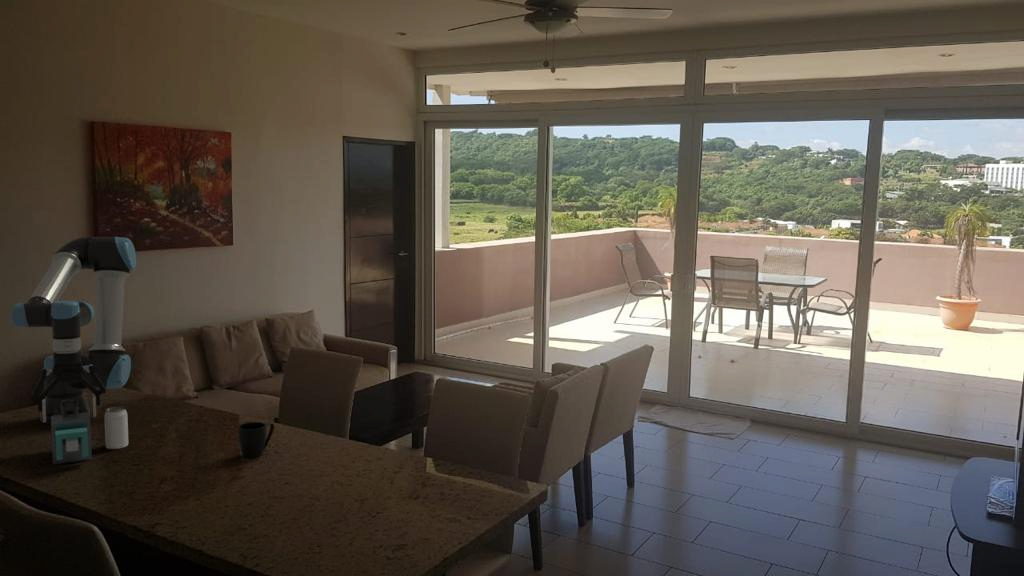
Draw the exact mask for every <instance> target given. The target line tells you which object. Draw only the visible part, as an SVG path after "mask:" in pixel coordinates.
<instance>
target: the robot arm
mask: <svg viewBox="0 0 1024 576" xmlns="http://www.w3.org/2000/svg"><path fill="white" fill-rule="evenodd" d="M50 264H51V265H50V266H49V268H48V269H47V271H46V273H44V275H43V277H42V278H41V280H40V282H39V283H38V285H37V287H36V288H35V289H34V291H33V293H32V294H31V296H30V297H29V299H28V300H27V302H21V303H16V304H14V305H13V306H12V309H11V311H10V312H11V313H10V318H11V322H12V324H13V325H14V326H15V327H17V328H18V327H19V328H51V330H52V351H53V353H52V354H51V355H48V356H46V357H45V359H44V361H43V368H42V369H41V370H42V371H41V376H40V377H39V379H38V380H37V381H38V382H37V383H36V385H35V387H34V389H33V391H32V392H31V395H30V399H31V400H32V401H36V402H37V411H38V412H40V414H39V418H40V422H41V423H42V424H46V425H51V416H55V415H62V410H61V401H62V400H65V399H77V401H78V413H84V412H89V416H90V417H91V410H90V407H89V405H88V403H87V401H86V400H87V399H86V396H85V395H84V390H89V391H90V392H91V393H93V394H92V414H93V418H97V407H98V406H100V405H101V395H103V394H106V392H107V390H112V389H121V388H123V387H124V386H125V385H126V384H127V382H128V379H129V377H130V374H131V370H132V369H131V368H132V363H131V362H132V359H131V357H130V355H128V354H127V353H126V351H127V350H126V349H125V348H124V347H123V345H122V338H123V337H122V335H123V319H124V316H123V315H124V299H125V282H126V281H125V280H126V279H127V278H129V277H130V274H131V271H133V270H135V269H136V265H137V255H136V249H135V245H134V243H133V242H132V240H131V239H130V238H127V237H122V236H121V237H119V236H81V237H78V238H74V239H72V240H70V241H69V242H67V243H65V244H64V245H62V246H61V247H59V249H57V251H55V253H54V254H53V256H52V257H51V259H50ZM81 270H93V275H94V276H95V277H96V278H97V288H96V289H97V290H96V291H97V292H96V305H95V307H96V308H95V309H94V306H92V304H90V303H88V302H86V301H77V300H73V299H72V300H71V299H70V300H66V299H65V300H60V299H61V297H62V295H63V293H64V292H65V290H66V289H67V288H68V286H69V284H70V282H71V280H73V279H72V278H73V277H74V276H75V275H77V274H79V273H80V272H81ZM94 318H95V322H94V323H95V326H94V340H93V346H91V347H90V348H89V349H88V355H84V354H83V351H81V349H82V339H81V327H85V326H86V325H88V324H90V323H91V321H93V319H94ZM43 384H44V389H43V391H42V392H41V393H40V394H39V392H40V390H41V388H42V386H43ZM106 389H107V390H106ZM38 394H39V395H38Z"/></svg>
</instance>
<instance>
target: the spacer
mask: <svg viewBox="0 0 1024 576" xmlns="http://www.w3.org/2000/svg"><path fill="white" fill-rule="evenodd" d="M55 435H56V458H57V460H62V459H63V456H62V439H67V438H76V437H81V440H82V457H86V456H88V434H87V427H86V428H78V429H69V430H60V431H55Z"/></svg>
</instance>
